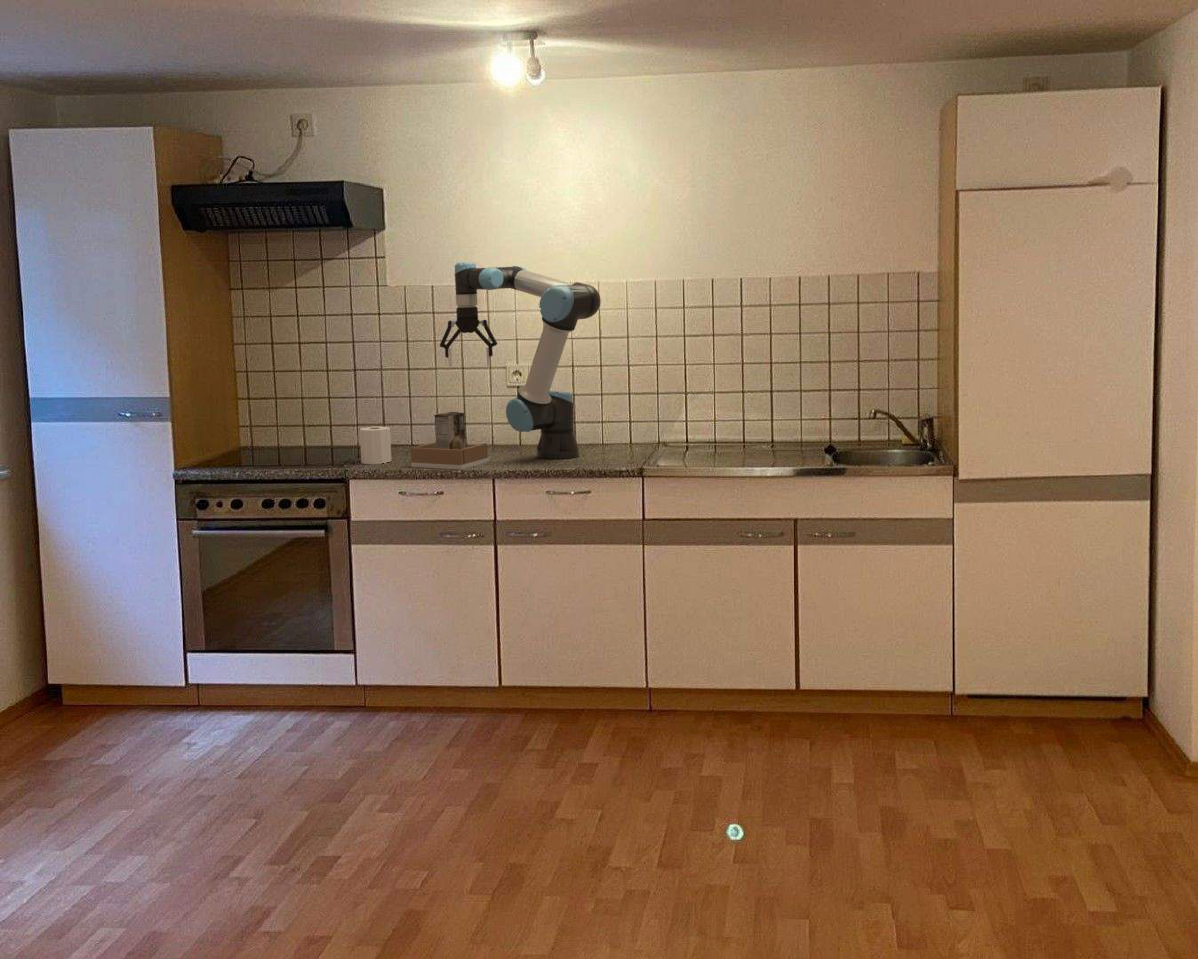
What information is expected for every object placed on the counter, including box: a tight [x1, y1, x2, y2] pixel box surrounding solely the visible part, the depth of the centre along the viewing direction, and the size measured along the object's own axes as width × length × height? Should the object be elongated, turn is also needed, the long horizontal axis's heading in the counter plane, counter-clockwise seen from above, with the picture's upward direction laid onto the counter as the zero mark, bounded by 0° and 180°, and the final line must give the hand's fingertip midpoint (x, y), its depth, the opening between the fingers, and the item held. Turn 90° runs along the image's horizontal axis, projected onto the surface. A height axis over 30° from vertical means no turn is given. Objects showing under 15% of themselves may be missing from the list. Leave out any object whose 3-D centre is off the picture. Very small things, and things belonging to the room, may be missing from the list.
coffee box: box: [434, 411, 467, 450], centre depth 503 cm, size 9×6×16 cm
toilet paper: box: [359, 426, 392, 465], centre depth 513 cm, size 10×10×12 cm
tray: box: [410, 441, 490, 470], centre depth 504 cm, size 20×18×6 cm
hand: (469, 366), depth 522 cm, fingers open, 13 cm apart
